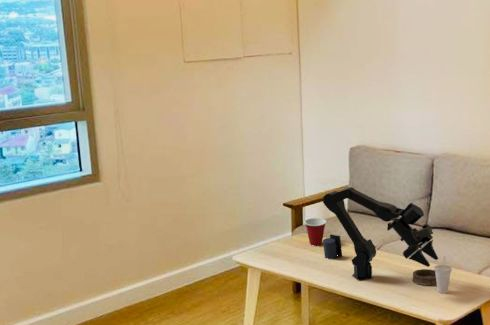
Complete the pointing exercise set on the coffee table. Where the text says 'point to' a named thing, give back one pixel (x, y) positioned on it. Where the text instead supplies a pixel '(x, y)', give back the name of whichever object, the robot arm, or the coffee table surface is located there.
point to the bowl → (424, 277)
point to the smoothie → (442, 277)
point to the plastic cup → (315, 230)
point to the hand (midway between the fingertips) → (433, 262)
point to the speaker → (332, 246)
